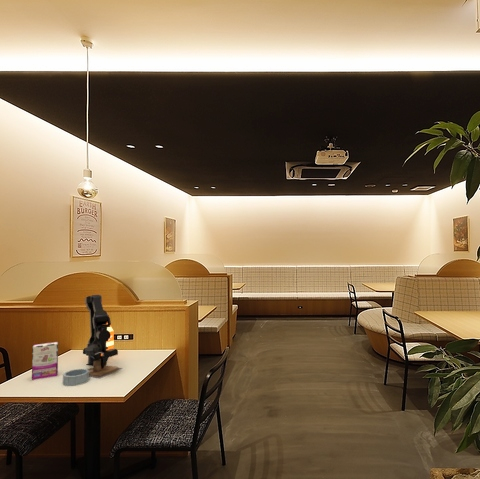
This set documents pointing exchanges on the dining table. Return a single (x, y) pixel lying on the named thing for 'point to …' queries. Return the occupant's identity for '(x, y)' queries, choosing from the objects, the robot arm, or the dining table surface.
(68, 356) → the dining table surface
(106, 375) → the mat
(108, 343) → the orange juice
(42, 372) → the candy bar box
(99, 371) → the walnut lid
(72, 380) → the bowl
